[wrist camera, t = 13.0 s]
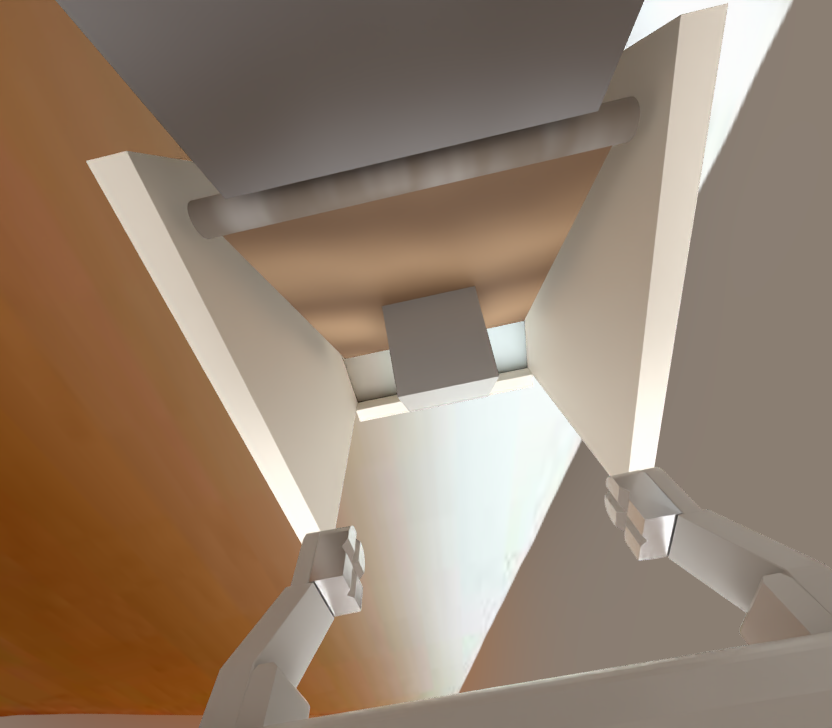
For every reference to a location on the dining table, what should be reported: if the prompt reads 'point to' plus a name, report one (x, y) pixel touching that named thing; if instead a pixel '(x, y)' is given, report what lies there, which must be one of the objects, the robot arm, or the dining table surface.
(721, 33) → the frame
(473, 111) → the trapdoor
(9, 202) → the dining table surface
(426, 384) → the light grey cube
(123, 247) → the dining table surface
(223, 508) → the dining table surface
